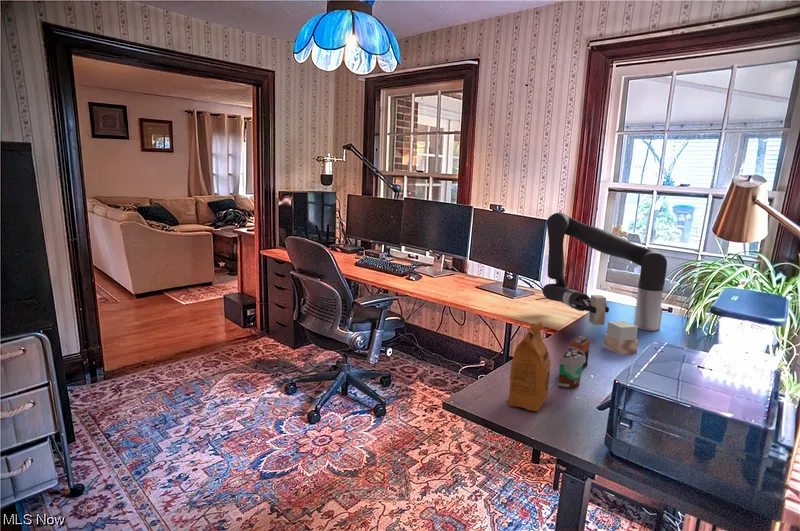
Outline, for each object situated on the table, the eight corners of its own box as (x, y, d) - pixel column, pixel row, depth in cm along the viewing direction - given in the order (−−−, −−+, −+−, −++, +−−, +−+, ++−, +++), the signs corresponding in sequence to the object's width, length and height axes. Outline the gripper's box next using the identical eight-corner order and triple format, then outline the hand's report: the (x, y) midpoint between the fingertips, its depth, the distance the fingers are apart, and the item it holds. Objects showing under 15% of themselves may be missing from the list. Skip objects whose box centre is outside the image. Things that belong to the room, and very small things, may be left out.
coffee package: (553, 399, 127) (560, 324, 123) (538, 417, 117) (545, 335, 113) (519, 389, 133) (524, 317, 129) (502, 405, 123) (507, 327, 119)
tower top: (622, 333, 171) (624, 320, 170) (636, 339, 165) (637, 326, 164) (606, 334, 170) (608, 321, 169) (619, 340, 163) (621, 327, 162)
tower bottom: (621, 345, 173) (623, 333, 172) (636, 353, 165) (638, 340, 164) (603, 346, 171) (604, 334, 170) (617, 354, 163) (619, 341, 163)
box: (604, 325, 179) (607, 298, 177) (593, 325, 179) (595, 297, 177) (598, 321, 184) (601, 294, 182) (588, 321, 184) (590, 294, 182)
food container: (578, 395, 130) (582, 362, 129) (556, 389, 133) (559, 357, 132) (586, 380, 141) (589, 349, 139) (566, 375, 144) (569, 345, 142)
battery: (587, 365, 152) (590, 337, 150) (580, 371, 147) (583, 342, 145) (574, 362, 155) (577, 334, 153) (567, 367, 150) (569, 339, 148)
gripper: (561, 292, 192) (586, 302, 176) (591, 290, 195) (618, 300, 179) (560, 309, 193) (585, 320, 177) (589, 307, 197) (616, 318, 180)
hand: (601, 310), depth 178 cm, fingers closed on box, 5 cm apart
